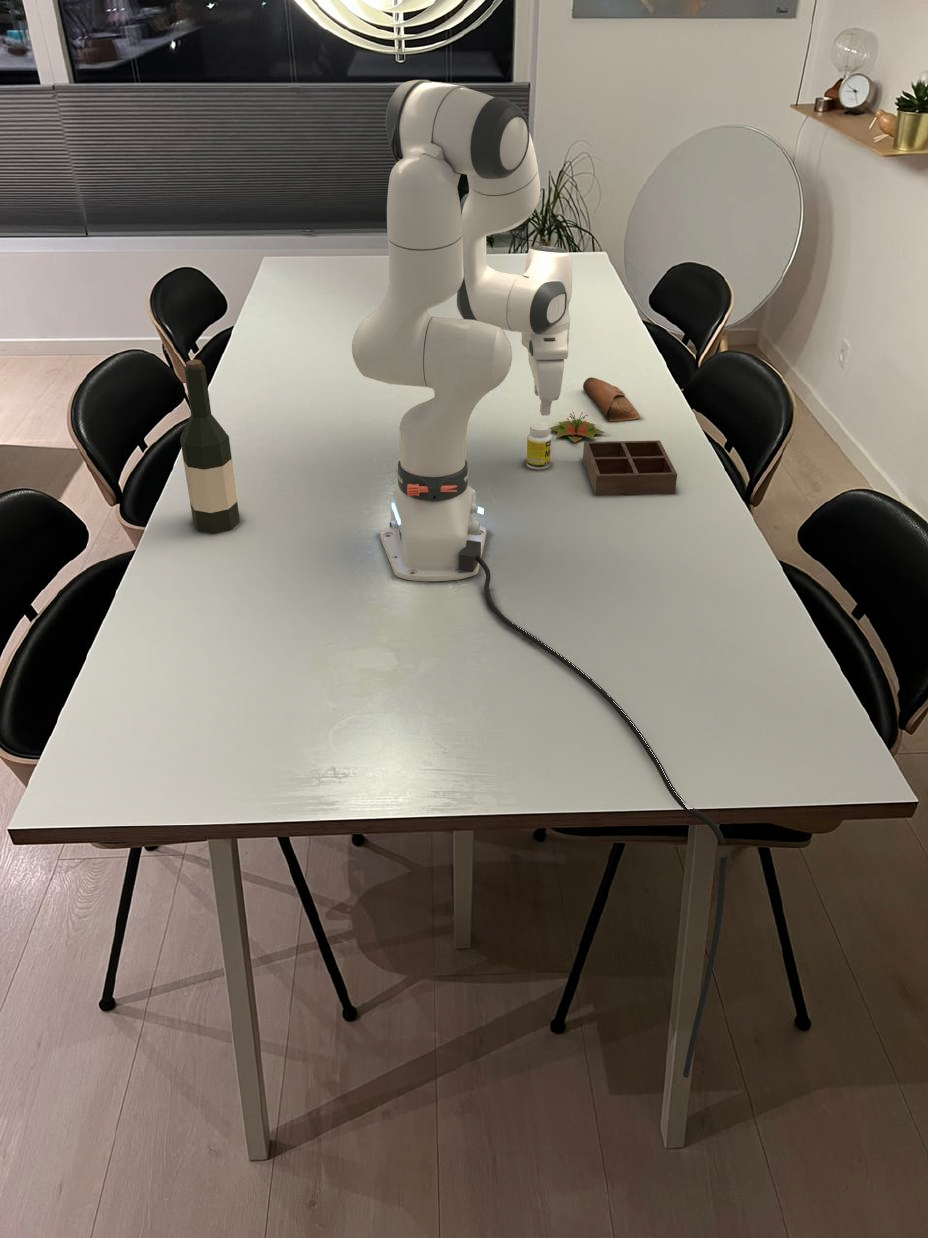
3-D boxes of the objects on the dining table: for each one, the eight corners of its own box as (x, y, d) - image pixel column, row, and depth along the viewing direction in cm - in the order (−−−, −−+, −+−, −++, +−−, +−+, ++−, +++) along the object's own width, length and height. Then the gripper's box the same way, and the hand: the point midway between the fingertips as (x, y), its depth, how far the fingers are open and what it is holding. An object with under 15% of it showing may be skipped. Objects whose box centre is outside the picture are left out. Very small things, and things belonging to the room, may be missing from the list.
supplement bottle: (548, 471, 207) (550, 431, 203) (524, 469, 208) (526, 429, 203) (551, 461, 211) (553, 422, 207) (528, 458, 212) (529, 420, 207)
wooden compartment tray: (675, 493, 200) (677, 474, 197) (595, 495, 199) (596, 475, 197) (657, 458, 212) (659, 440, 210) (582, 460, 212) (584, 441, 209)
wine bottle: (196, 512, 192) (172, 353, 175) (242, 510, 193) (222, 352, 176) (189, 534, 185) (163, 371, 169) (237, 533, 186) (216, 370, 169)
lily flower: (578, 417, 230) (579, 397, 227) (616, 435, 222) (618, 415, 219) (536, 430, 224) (537, 410, 221) (573, 449, 216) (575, 429, 213)
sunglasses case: (643, 417, 229) (630, 393, 225) (615, 434, 230) (602, 411, 226) (616, 387, 243) (604, 364, 240) (590, 403, 244) (578, 381, 241)
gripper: (522, 315, 203) (520, 383, 211) (534, 354, 187) (531, 426, 194) (554, 315, 204) (551, 382, 211) (569, 353, 187) (565, 425, 195)
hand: (541, 403), depth 203 cm, fingers open, 8 cm apart
